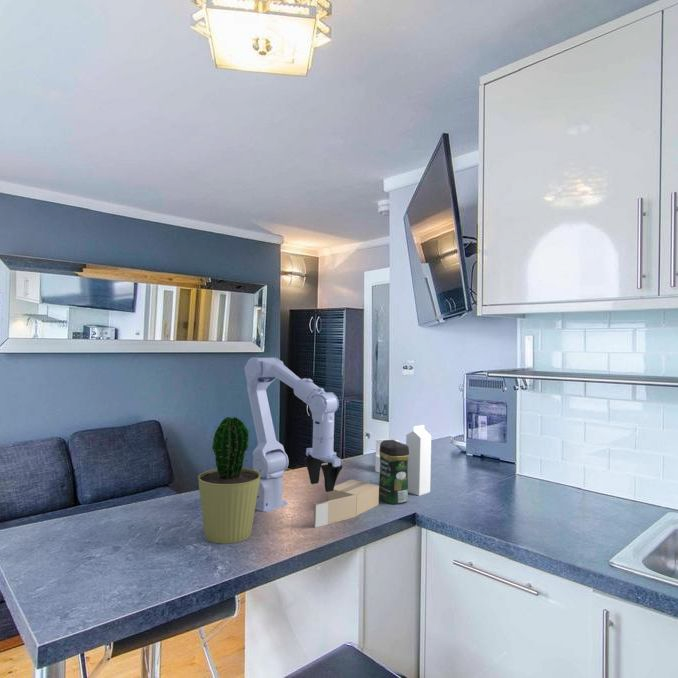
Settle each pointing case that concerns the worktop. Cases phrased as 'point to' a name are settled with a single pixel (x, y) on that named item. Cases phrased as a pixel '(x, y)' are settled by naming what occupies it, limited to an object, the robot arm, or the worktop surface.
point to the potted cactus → (229, 486)
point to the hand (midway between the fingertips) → (321, 487)
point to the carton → (357, 494)
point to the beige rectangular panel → (334, 510)
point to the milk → (419, 460)
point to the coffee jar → (393, 472)
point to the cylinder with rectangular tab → (377, 462)
